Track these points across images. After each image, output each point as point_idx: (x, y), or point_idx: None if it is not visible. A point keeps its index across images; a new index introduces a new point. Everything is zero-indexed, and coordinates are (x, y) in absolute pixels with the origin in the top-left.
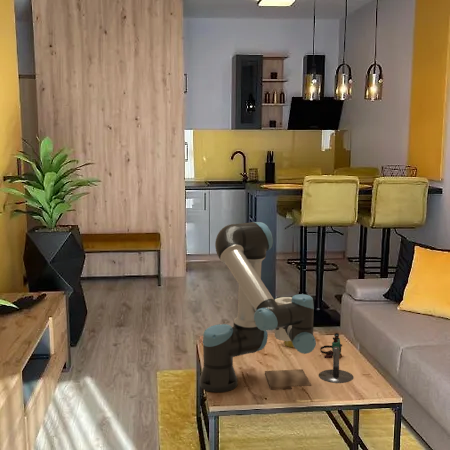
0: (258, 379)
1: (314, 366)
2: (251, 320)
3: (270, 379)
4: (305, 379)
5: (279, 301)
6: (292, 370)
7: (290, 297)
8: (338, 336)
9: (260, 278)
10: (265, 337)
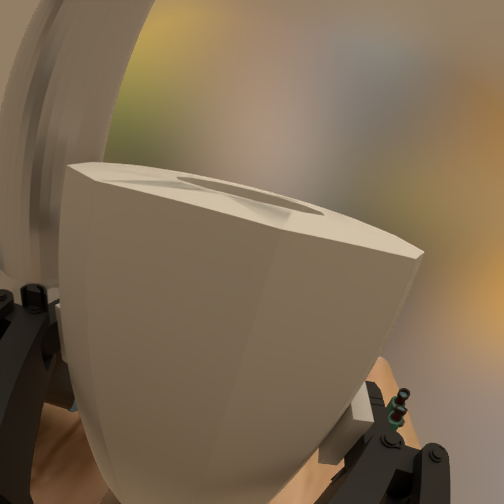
0: (95, 466)
1: (308, 472)
2: (6, 273)
3: (112, 500)
4: None
5: (128, 167)
6: None
7: (310, 204)
8: (406, 398)
9: (111, 7)
10: None
